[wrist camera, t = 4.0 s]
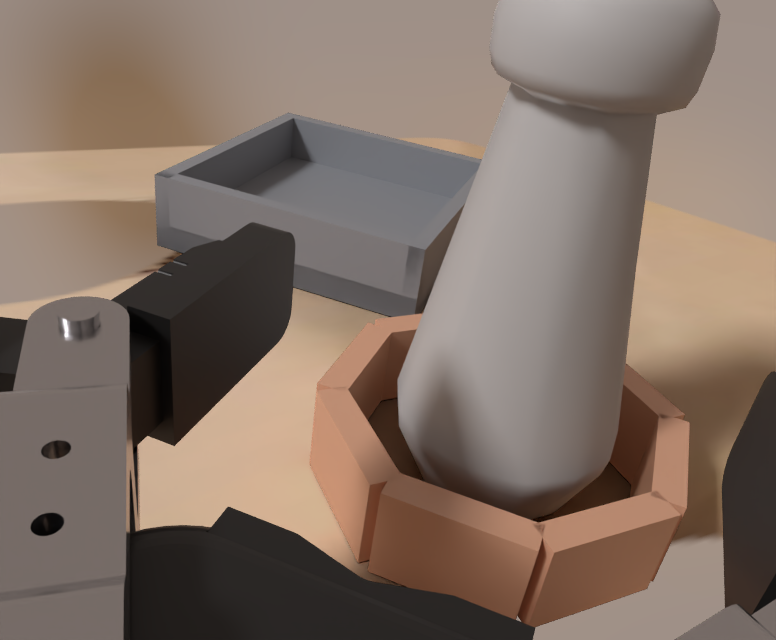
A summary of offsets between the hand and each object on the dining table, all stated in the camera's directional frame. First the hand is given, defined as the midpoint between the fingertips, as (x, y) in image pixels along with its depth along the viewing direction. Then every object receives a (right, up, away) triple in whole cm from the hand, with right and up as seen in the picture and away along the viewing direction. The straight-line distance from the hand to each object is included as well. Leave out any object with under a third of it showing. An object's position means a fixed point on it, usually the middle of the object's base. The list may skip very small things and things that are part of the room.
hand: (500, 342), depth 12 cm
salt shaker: (+1, -4, +8) cm, 9 cm away
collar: (+1, -4, +8) cm, 9 cm away
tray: (-4, +4, +21) cm, 21 cm away
